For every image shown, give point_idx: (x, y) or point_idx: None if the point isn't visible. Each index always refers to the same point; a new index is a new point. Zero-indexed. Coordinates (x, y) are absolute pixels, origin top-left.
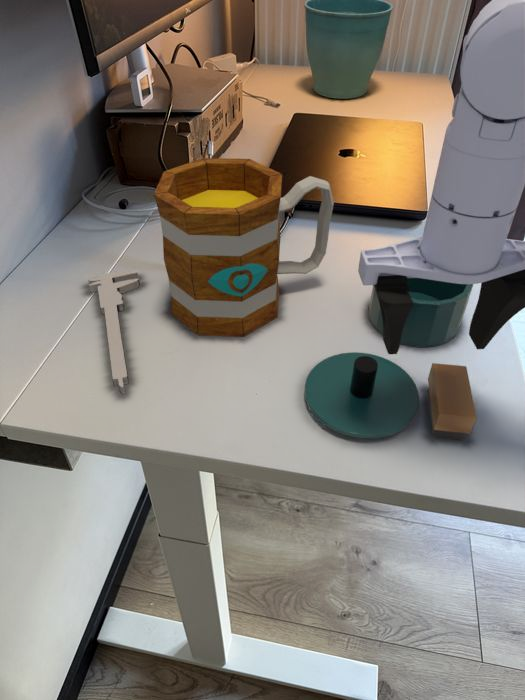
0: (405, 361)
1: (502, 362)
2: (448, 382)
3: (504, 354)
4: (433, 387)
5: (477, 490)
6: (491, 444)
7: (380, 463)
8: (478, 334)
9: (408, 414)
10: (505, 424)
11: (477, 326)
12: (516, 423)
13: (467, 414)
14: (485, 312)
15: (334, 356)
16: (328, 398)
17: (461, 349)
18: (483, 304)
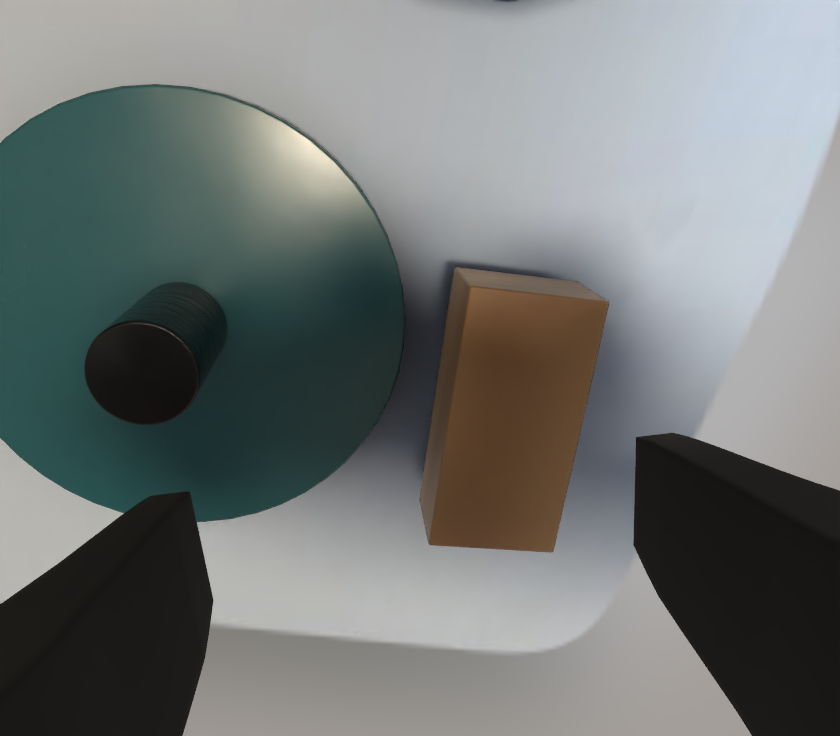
0: (399, 98)
1: (793, 106)
2: (506, 397)
3: (824, 54)
4: (447, 391)
5: (499, 624)
6: (592, 486)
7: (246, 566)
8: (665, 556)
9: (348, 433)
10: (665, 412)
11: (681, 534)
12: (701, 406)
13: (526, 543)
14: (755, 625)
15: (55, 117)
16: (47, 371)
17: (662, 16)
18: (776, 594)
